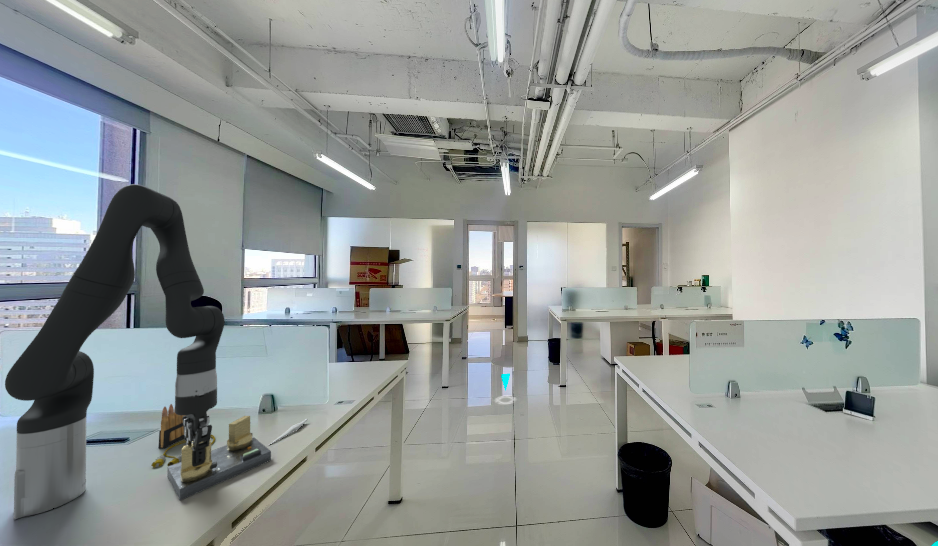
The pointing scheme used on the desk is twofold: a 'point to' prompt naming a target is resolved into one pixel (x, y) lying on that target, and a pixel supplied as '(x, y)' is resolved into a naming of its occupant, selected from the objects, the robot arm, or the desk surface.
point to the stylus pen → (291, 430)
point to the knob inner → (199, 471)
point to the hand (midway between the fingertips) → (196, 462)
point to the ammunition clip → (170, 427)
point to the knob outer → (239, 434)
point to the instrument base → (220, 468)
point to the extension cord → (176, 459)
